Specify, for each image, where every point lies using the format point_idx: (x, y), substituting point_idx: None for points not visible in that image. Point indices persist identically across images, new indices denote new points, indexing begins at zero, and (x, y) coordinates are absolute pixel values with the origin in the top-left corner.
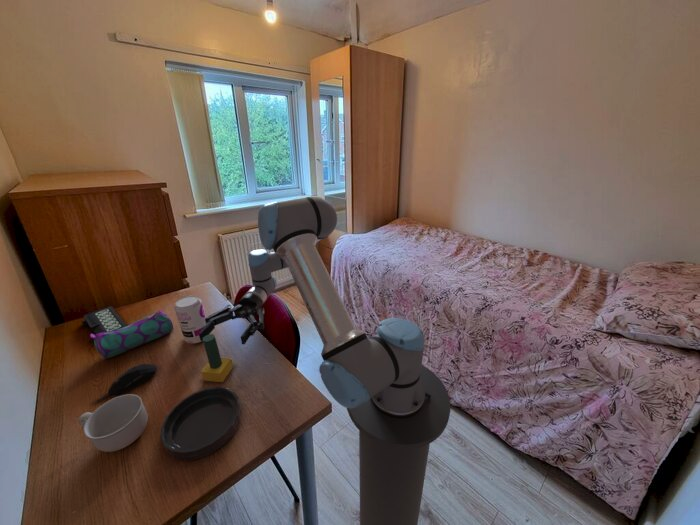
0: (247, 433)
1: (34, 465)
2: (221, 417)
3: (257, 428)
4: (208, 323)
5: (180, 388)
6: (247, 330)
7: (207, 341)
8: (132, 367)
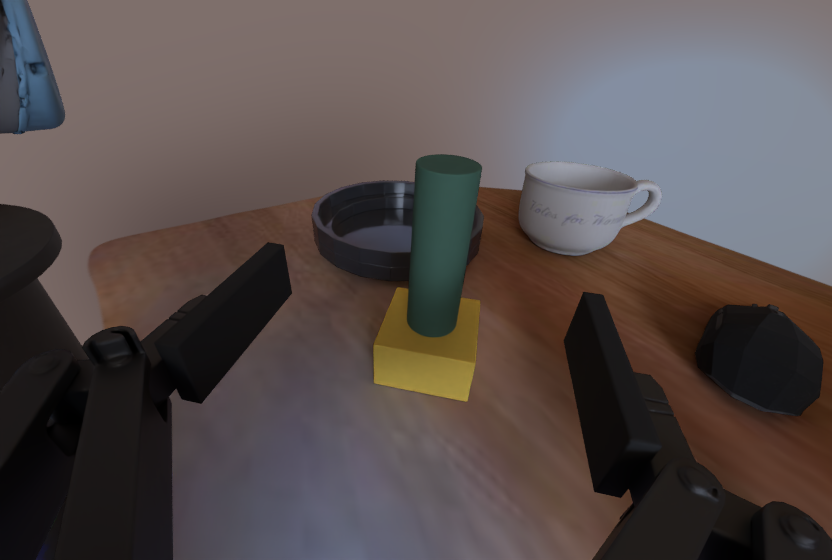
0: (301, 223)
1: (668, 228)
2: (363, 239)
3: (279, 227)
4: (641, 398)
5: (536, 319)
6: (225, 281)
7: (441, 154)
8: (818, 354)
